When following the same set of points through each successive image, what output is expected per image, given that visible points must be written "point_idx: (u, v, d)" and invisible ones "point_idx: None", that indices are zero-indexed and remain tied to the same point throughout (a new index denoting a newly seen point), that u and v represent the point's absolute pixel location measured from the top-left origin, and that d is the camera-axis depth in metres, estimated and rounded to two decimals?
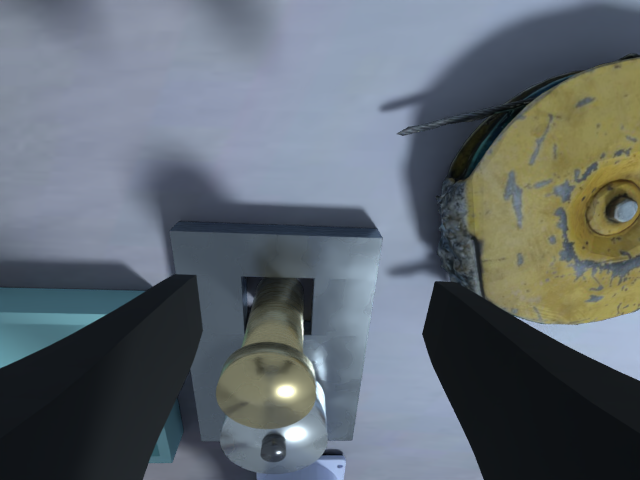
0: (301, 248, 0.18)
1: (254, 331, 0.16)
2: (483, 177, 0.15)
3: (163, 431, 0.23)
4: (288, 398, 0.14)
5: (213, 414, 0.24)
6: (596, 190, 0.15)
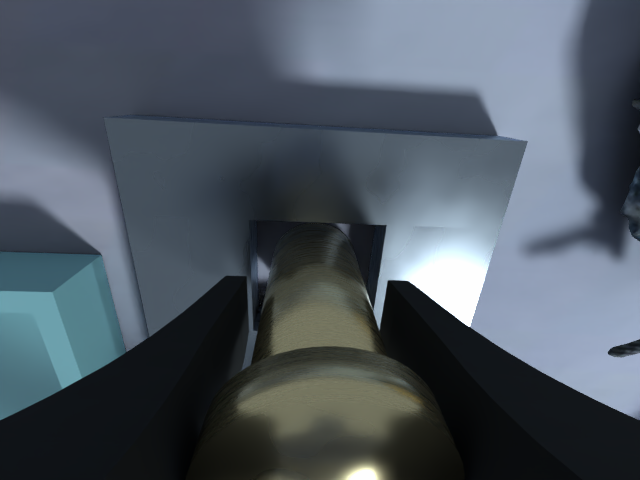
0: (367, 161, 0.09)
1: (281, 322, 0.07)
2: None
3: None
4: None
5: None
6: None
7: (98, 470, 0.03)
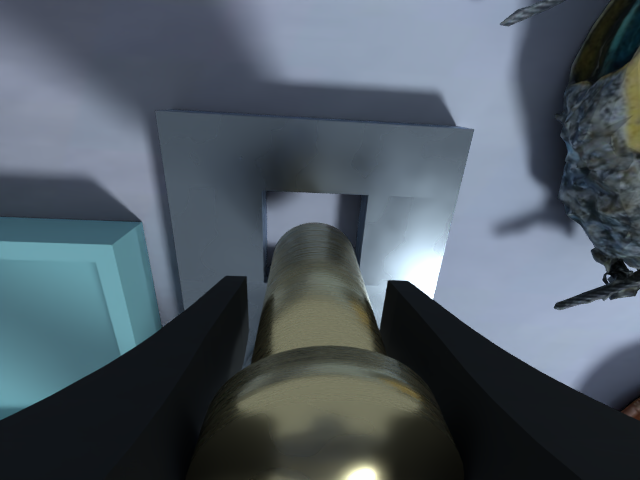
0: (352, 144, 0.12)
1: (282, 322, 0.07)
2: None
3: None
4: None
5: None
6: None
7: (98, 470, 0.03)
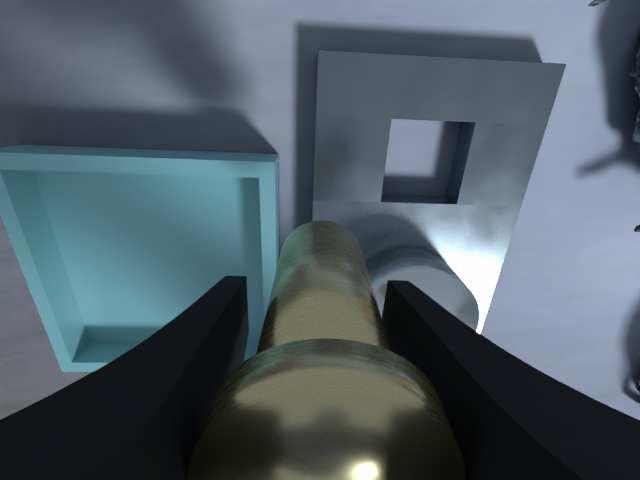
0: (468, 78, 0.15)
1: (287, 315, 0.07)
2: None
3: None
4: None
5: None
6: None
7: (97, 470, 0.03)
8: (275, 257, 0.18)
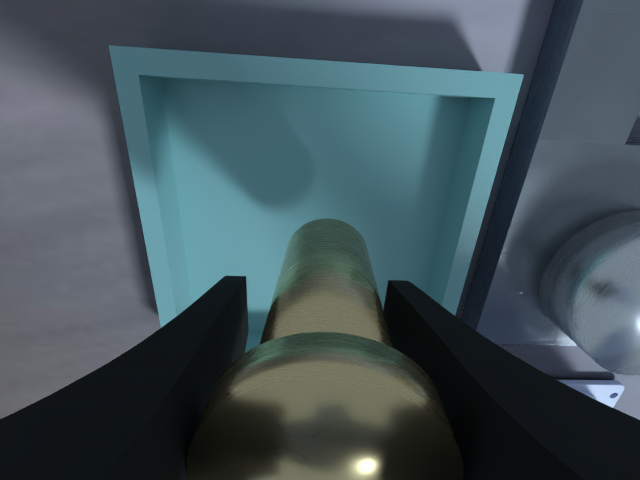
0: None
1: (290, 310, 0.07)
2: None
3: None
4: None
5: (509, 298, 0.16)
6: None
7: (97, 469, 0.03)
8: (481, 217, 0.13)
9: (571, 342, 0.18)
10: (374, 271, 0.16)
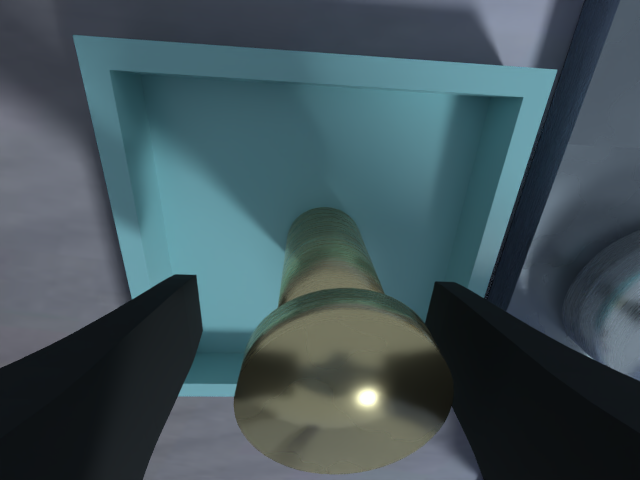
0: None
1: (305, 280, 0.08)
2: None
3: None
4: (391, 413, 0.06)
5: (529, 317, 0.15)
6: None
7: None
8: (503, 231, 0.12)
9: None
10: None
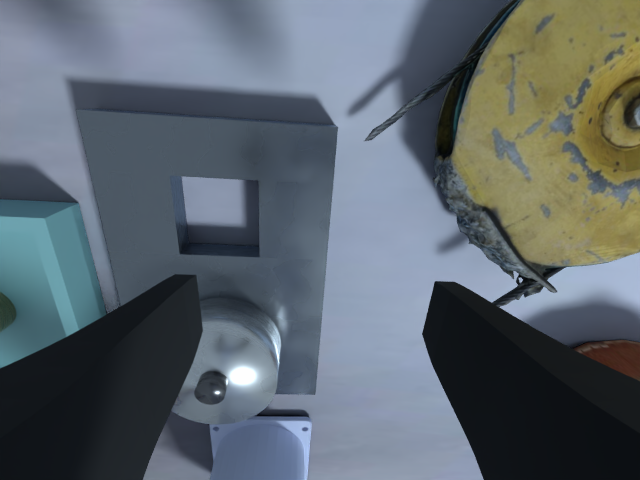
0: (240, 138, 0.15)
1: None
2: (466, 147, 0.14)
3: None
4: None
5: None
6: (602, 104, 0.13)
7: None
8: (72, 308, 0.17)
9: None
10: (46, 337, 0.20)
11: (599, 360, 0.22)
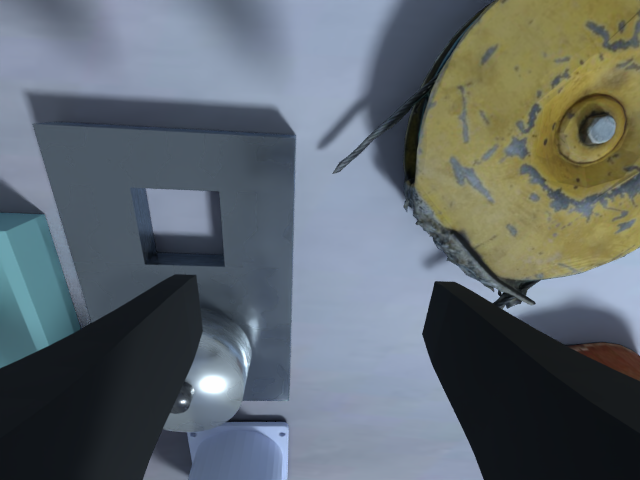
0: (198, 150, 0.15)
1: None
2: (427, 176, 0.14)
3: None
4: None
5: None
6: (557, 124, 0.13)
7: None
8: (38, 318, 0.18)
9: None
10: (19, 346, 0.21)
11: None
